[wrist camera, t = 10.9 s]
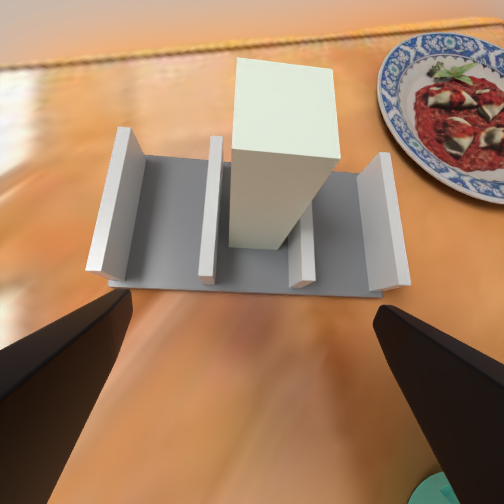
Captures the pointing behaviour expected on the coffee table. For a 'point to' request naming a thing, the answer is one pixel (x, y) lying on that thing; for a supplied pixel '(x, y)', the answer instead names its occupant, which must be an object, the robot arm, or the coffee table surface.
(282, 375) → the coffee table surface
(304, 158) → the cream white box
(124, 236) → the dish rack
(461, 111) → the ceramic plate
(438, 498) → the decorative dice
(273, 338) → the coffee table surface
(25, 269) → the coffee table surface
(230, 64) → the coffee table surface
